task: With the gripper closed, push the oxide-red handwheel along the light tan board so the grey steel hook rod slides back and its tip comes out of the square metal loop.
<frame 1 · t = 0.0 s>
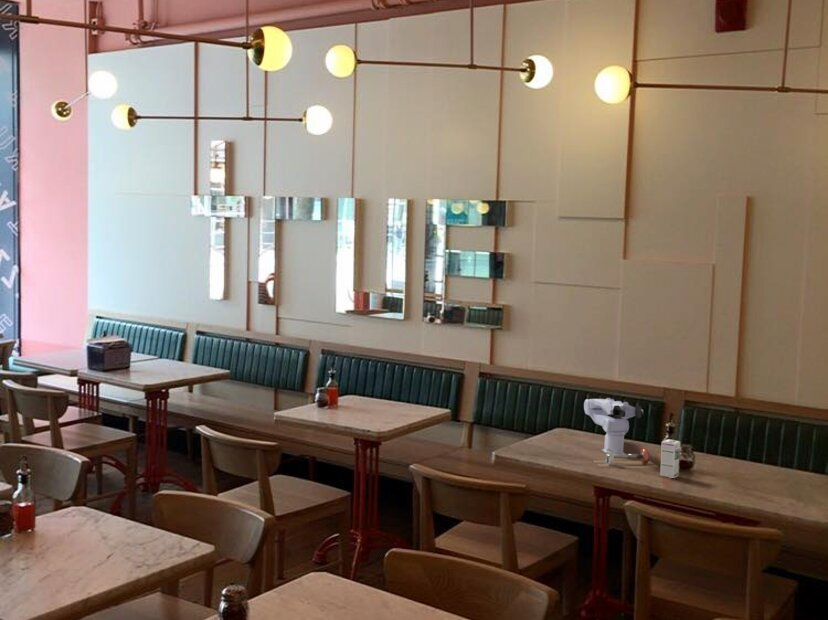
hand: (633, 414, 394), 22 cm above the table, tool horizontal, fingers open, 7 cm apart
square metal loop: (609, 464, 395), resting on light tan board
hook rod: (626, 456, 396), point 4 cm above the table, slide at 0.0 cm
syrup box: (669, 476, 381), on the table
light tan board: (625, 465, 396), on the table
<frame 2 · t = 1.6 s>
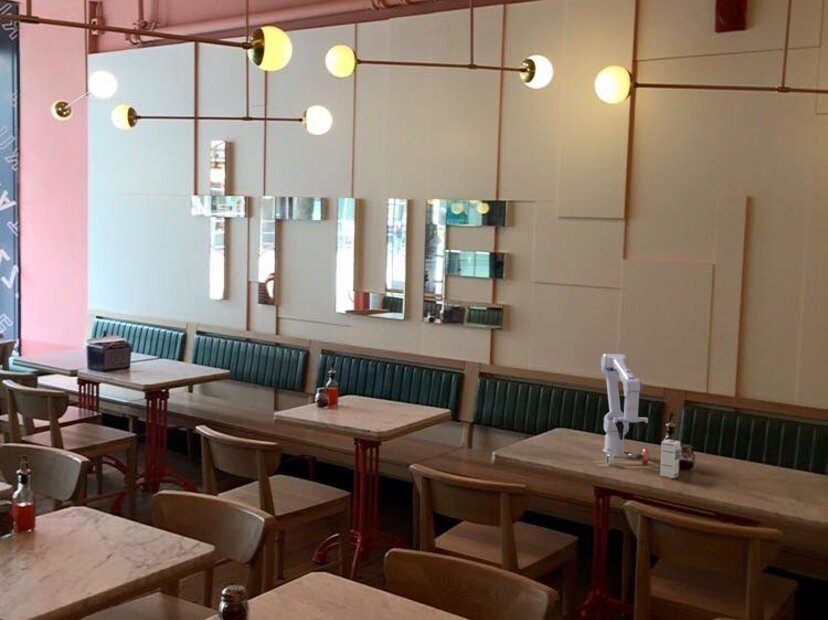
hand: (629, 439, 398), 10 cm above the table, tool pointing down, fingers open, 7 cm apart
nothing on the table moved.
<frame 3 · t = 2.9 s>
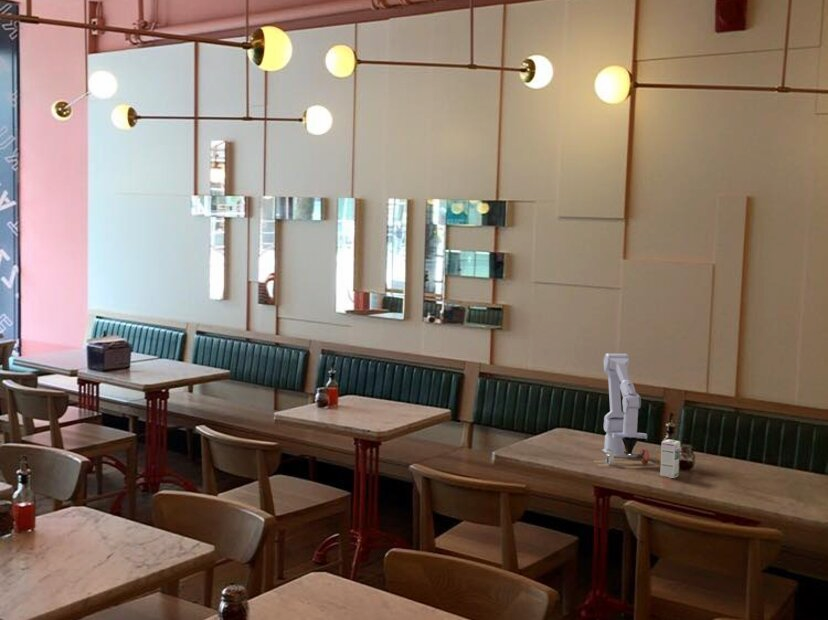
hand: (628, 455, 399), 4 cm above the table, tool pointing down, fingers closed
nothing on the table moved.
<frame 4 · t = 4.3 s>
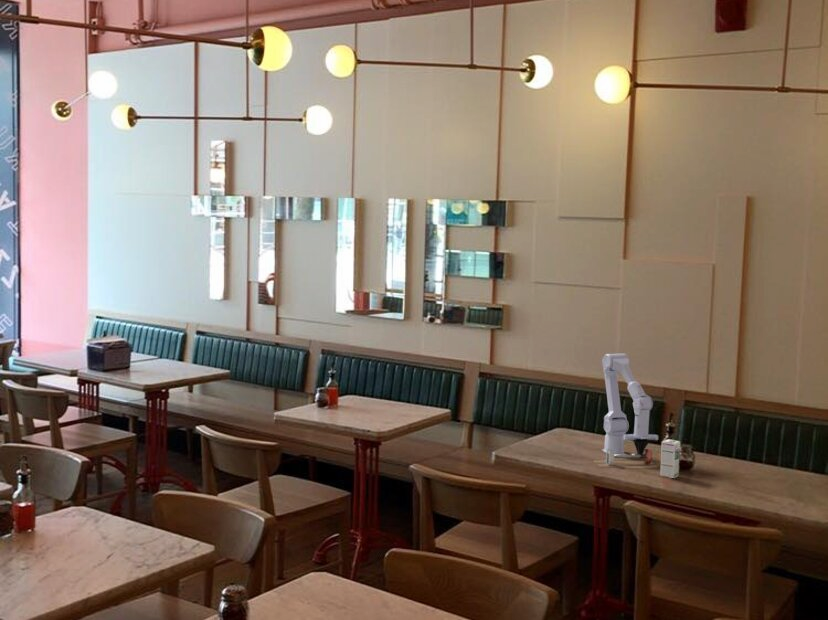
hand: (639, 456, 400), 3 cm above the table, tool pointing down, fingers closed
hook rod: (630, 456, 396), point 4 cm above the table, slide at 1.4 cm, touching gripper
everything else where it was.
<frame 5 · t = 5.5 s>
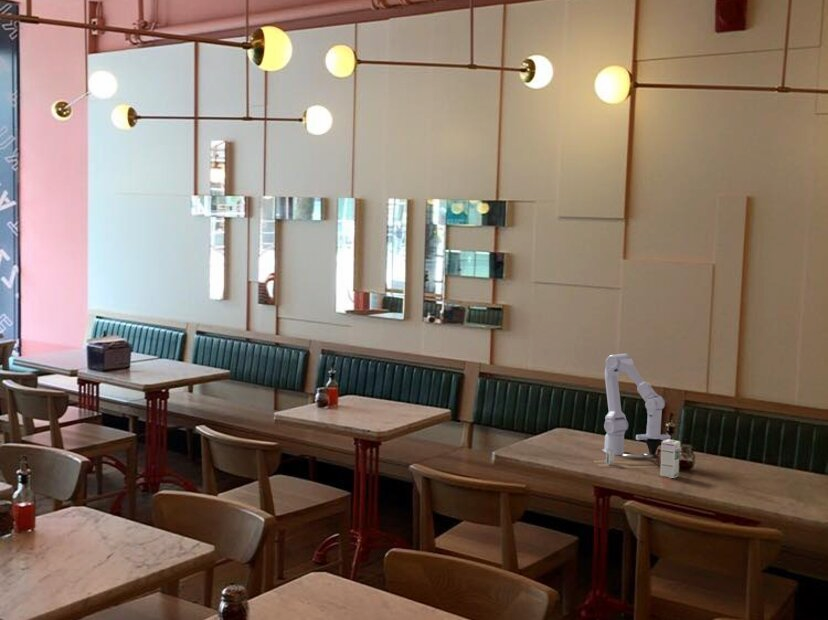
hand: (652, 456, 400), 3 cm above the table, tool pointing down, fingers closed
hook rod: (642, 456, 397), point 4 cm above the table, slide at 6.9 cm, touching gripper
everything else where it was.
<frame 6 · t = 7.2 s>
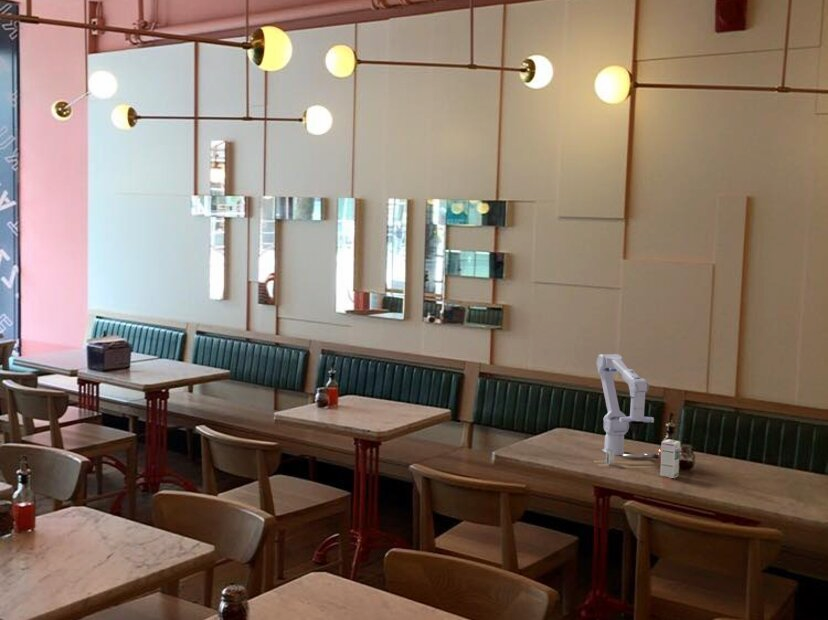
hand: (635, 438, 400), 10 cm above the table, tool pointing down, fingers closed
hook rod: (642, 456, 397), point 4 cm above the table, slide at 7.0 cm
everything else where it was.
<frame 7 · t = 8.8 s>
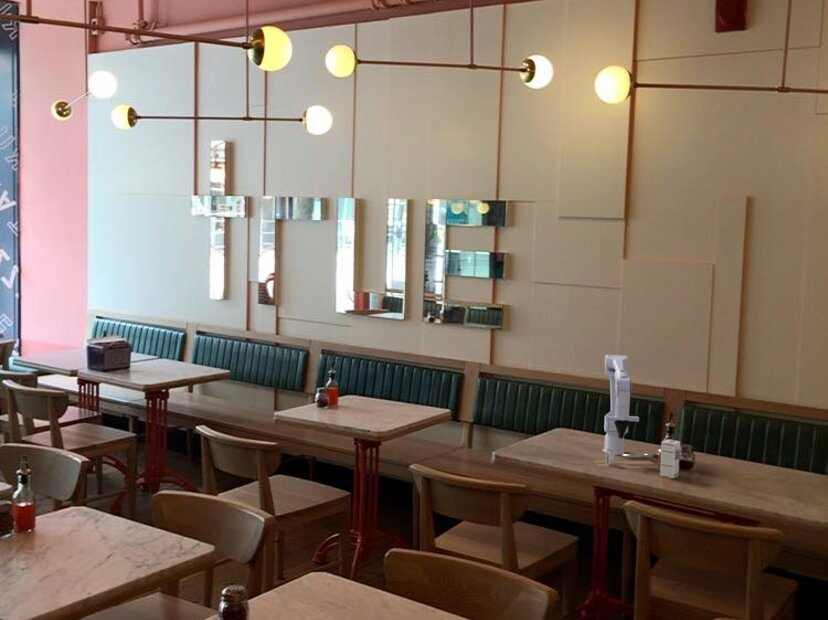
hand: (620, 438, 400), 10 cm above the table, tool pointing down, fingers closed
nothing on the table moved.
at the end: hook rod slide at 7.0 cm; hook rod touching nothing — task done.
